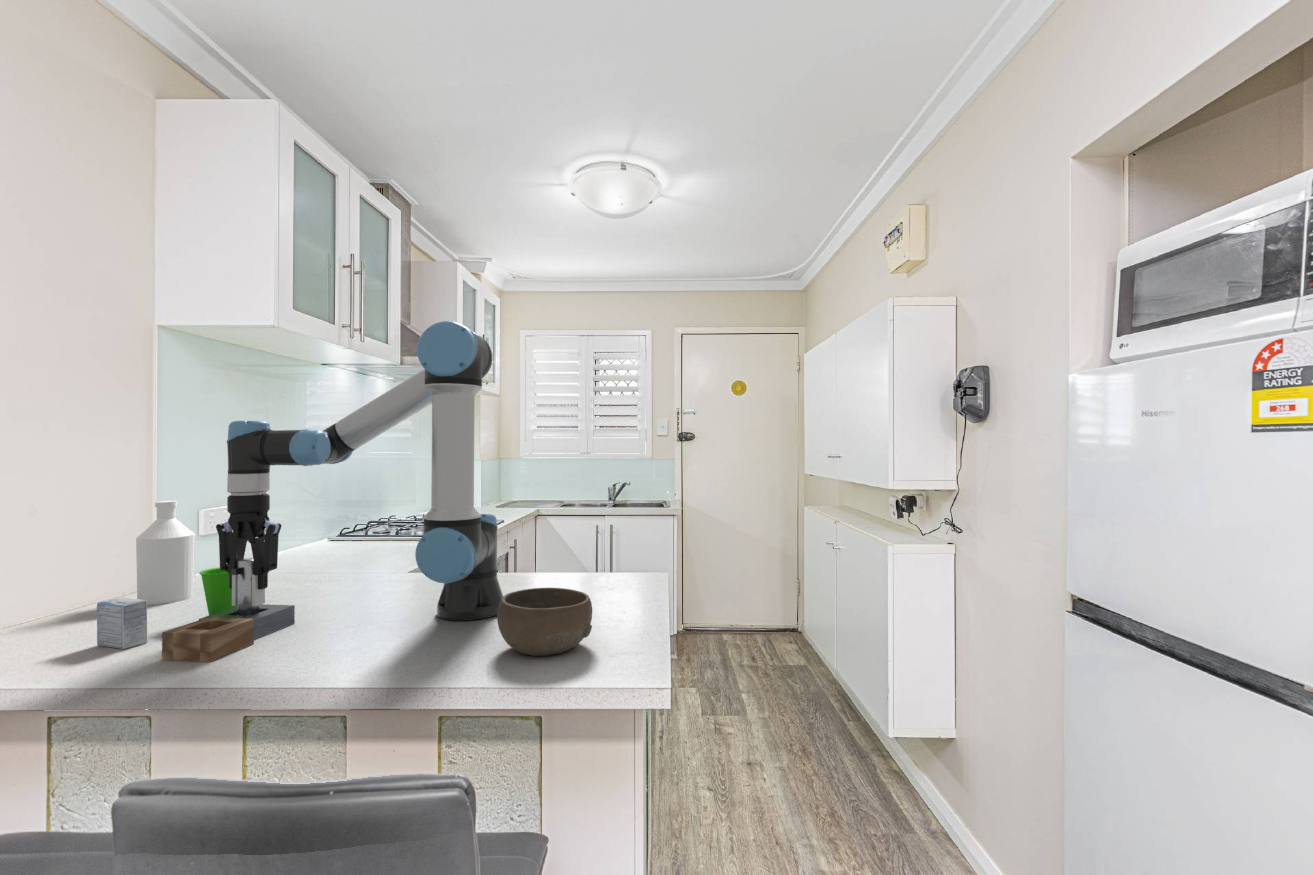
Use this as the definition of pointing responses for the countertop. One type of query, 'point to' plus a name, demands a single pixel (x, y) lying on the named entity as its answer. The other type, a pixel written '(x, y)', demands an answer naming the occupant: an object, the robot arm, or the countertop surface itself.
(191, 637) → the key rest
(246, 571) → the key
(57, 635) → the countertop surface
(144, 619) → the medicine box
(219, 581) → the cup
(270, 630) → the block
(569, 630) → the bowl
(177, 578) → the bottle
